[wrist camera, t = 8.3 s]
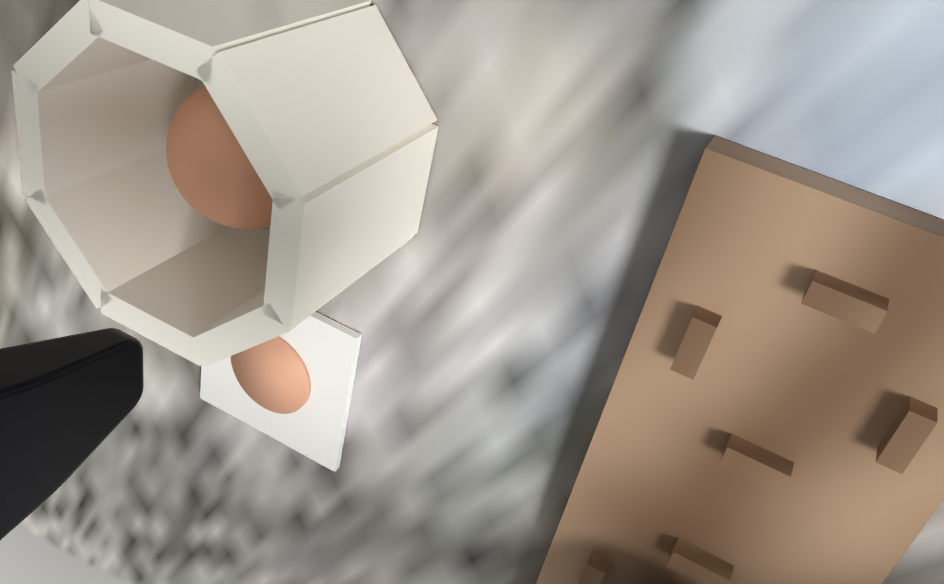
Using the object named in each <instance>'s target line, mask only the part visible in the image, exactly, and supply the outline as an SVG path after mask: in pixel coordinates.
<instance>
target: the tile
mask: <svg viewBox="0 0 944 584" xmlns="http://www.w3.org/2000/svg"><path fill="white" fill-rule="evenodd" d="M361 338H362V334H360V333H358V332H356V331H354V330H352V329H350V328H348V327H346V326H344V325H342V324H340V323H338V322H336V321H334V320H332V319H330V318H328V317H326V316H324V315H322V314H320V313H318V312H314V313H313V314H312V315H310V316H309V317H308V318H306V319H305V320H304V321H302V322H301V323H300V324H298V325H297V326H296V327H294V328H293V329H292V330H290V331H289V332H288V333H285V334H283V335H280V336H278V337H276V338H273V339H271V340H268V341H266V342H264V343H261V344H259V345H256V346H254V347H251V348H249V349H247V350H244V351H242V352H239V353H237V354H234V355H232V356H230V357H227V358H225V359H222V360H220V361H218V362H215V363H213V364H210V365H208V366H204V365H203V364H202V365H201V389H200V398H201V399H203V400H204V401H206V402H208V403H210V404H212V405H213V406H215V407H217V408H219V409H221V410H223V411H224V412H226V413H228V414H230V415H232V416H234V417H235V418H237V419H239V420H241V421H243V422H244V423H246V424H248V425H250V426H252V427H254V428H255V429H257V430H259V431H261V432H263V433H265V434H266V435H268V436H270V437H272V438H274V439H276V440H277V441H279V442H281V443H283V444H285V445H286V446H288V447H290V448H292V449H294V450H296V451H297V452H299V453H301V454H303V455H305V456H307V457H308V458H310V459H312V460H314V461H316V462H318V463H319V464H321V465H323V466H325V467H327V468H328V469H330V470H332V471H334V472H335V471H336V470H337V469H338V468H339V467H340V461H341V455H342V449H343V443H344V438H345V432H346V426H347V420H348V414H349V408H350V402H351V396H352V391H353V385H354V379H355V373H356V367H357V361H358V355H359V349H360V343H361Z"/></svg>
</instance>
